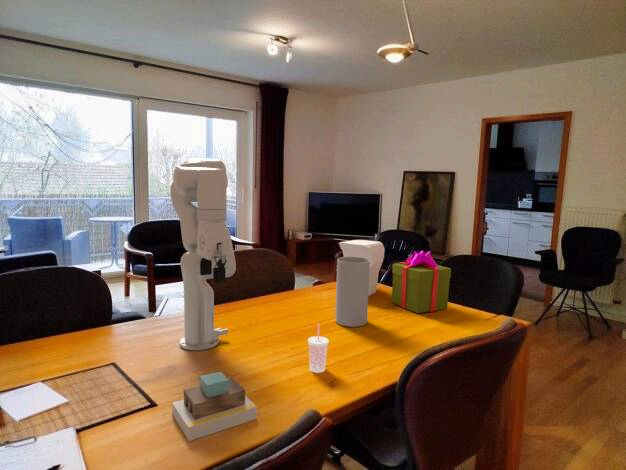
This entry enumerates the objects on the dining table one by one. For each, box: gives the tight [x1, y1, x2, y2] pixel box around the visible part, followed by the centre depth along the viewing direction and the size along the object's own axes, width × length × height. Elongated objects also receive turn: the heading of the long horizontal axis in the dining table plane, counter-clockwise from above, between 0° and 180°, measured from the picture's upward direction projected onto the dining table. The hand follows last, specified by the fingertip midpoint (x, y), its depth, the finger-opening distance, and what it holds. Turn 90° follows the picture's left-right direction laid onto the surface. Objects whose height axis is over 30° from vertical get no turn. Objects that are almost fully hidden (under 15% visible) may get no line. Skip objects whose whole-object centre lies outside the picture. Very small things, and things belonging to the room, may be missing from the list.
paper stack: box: [337, 239, 386, 297], centre depth 209 cm, size 21×27×26 cm
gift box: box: [391, 249, 452, 314], centre depth 189 cm, size 21×21×25 cm
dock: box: [171, 394, 258, 442], centre depth 99 cm, size 16×12×3 cm
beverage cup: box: [307, 322, 330, 374], centre depth 125 cm, size 6×6×14 cm
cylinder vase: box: [334, 256, 370, 328], centre depth 166 cm, size 12×12×25 cm
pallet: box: [183, 377, 246, 420], centre depth 99 cm, size 12×8×4 cm, turn 124°
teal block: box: [199, 371, 229, 398], centre depth 98 cm, size 5×5×3 cm
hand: (212, 278), depth 115 cm, fingers open, 9 cm apart
